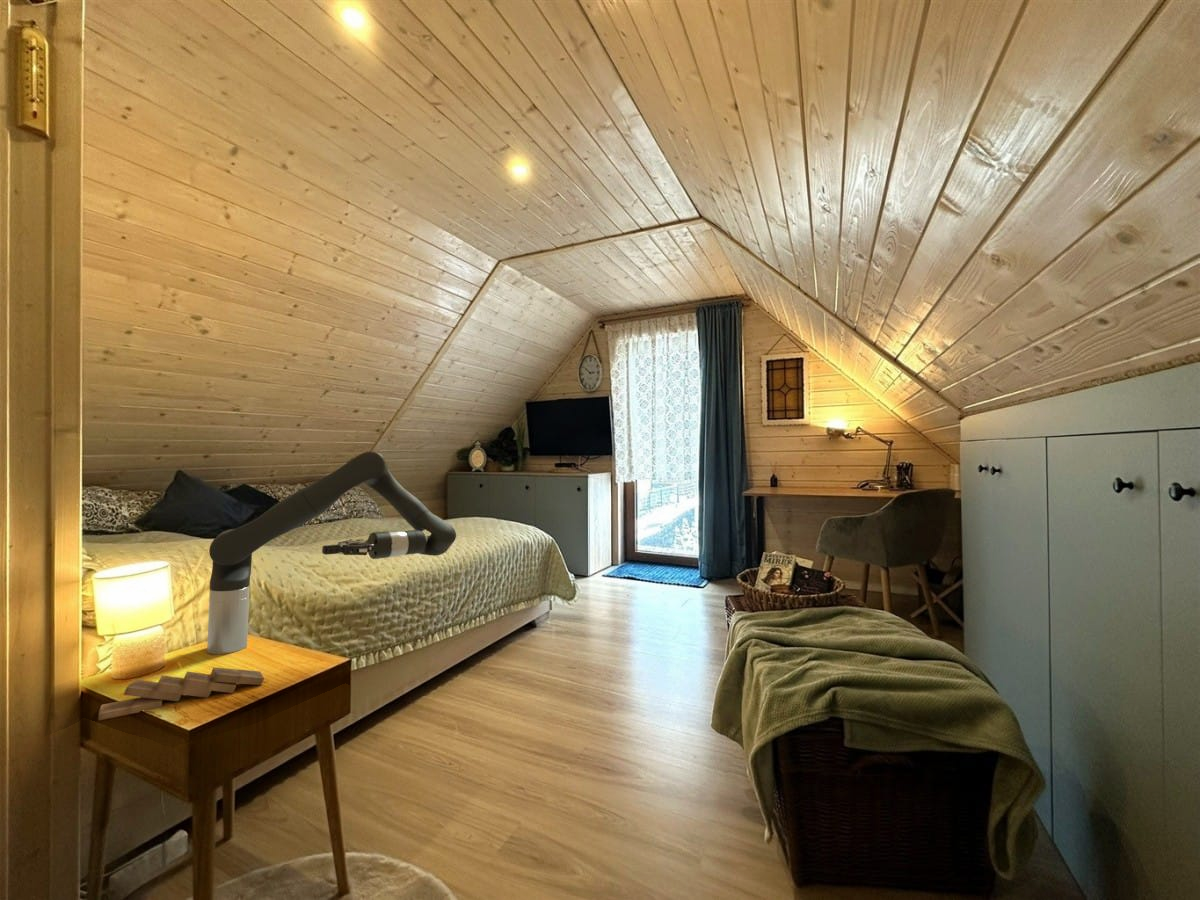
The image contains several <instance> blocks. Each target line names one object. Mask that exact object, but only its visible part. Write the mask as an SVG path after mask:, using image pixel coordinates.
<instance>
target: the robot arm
mask: <svg viewBox="0 0 1200 900" xmlns="http://www.w3.org/2000/svg"><path fill="white" fill-rule="evenodd" d="M361 484H365V485H366V486H368V487H369V488H371V489H372V490H374V491H375V492H376V493H377V494H379V495H380V496H381V497H382V498H384V499H385V500H386V501H387V502H388V503H389V505H391V506H392V508H394V509H395V511H397V513H398V514H399V515H400V516H401V517H402V518H403V519H404V520H405V521H406V523H408V525H409V526H411V528H413V530H385V531H375V532H374V531H373V532H370V533H369V536H368V538H367V539H364V538H357V539H347V540H343V541H339V542H337V544H327V545H326V544H325V545H322V549H321V550H322V551H321V552H322V554H323V555H324V556H325V555H335V554H336V555H337V554H339V555H345V556H367V555H368V556H369V557H370V559H372V560H376V559H378V560H379V559H387V558H397V557H401V556H407V555H416V554H420V555H424V556H431V557H432V556H433V557H434V556H440V555H444V554H445V553H446V552H447V551H448V550H449V549H450V547H452V545H453V543H455V541H456V538H457V533H456V530H455V529H454V527H453V526H452V525H451V523H450V522H448V521H445V520H444V519H442V518H441V517H439V516H438V515H435V514H433V513H432V512H431V511H430V510H429V509H428V508H427V507H426V505H424V504H423V502H422V501H420V500H419V499H418V498H417V497H416V496H414V495H413V494H411V492H410V491H408V490H407V489H405V487H404V486H402V485H401V484H400V483H399V482H398V481H397V480H396V479H395V477H394V476H393V474H392V473H391V471H390V470H389V469H388V465H387V462H386V459H385V458H384V456H383V455H382V453H380V452H378V451H373V450H370V451H363V452H361V453H360V454H358V455H356V456H355V457H354V458H352V459H351V460H350V461H349V460H348V462H346V463H345V464H344V465H342V466H340V467H339V468H337V469H336V470H334V471H333V472H331V473H329V474H327V475H325V476H323V477H322V478H320V479H318V480H316V481H314V482H312V483H310V484H309V485H307V486H305V487H302V488H301V489H299V490H296V492H294V493H291V494H290V495H288V496H286V497H285V498H283V499H282V500H279V501H278V502H277V503H276V504H274V505H273V506H272V507H270V508H269V509H268V510H266V511H265V512H264V513H262V514H261V515H260V516H258V517H256V518H255V519H253V520H251V521H250V522H246V523H245V524H243V525H241V526H239V527H237V528H231V529H227V530H224V531H222V532H220V533H219V534H217V536H216V537H214V539H213V540H212V542H211V543H210V546H209V550H208V551H209V552H208V553H209V558H210V559H211V560H212V570H211V575H210V580H209V595H208V596H209V598H208V599H209V600H208V603H209V604H208V621H207V623H208V624H207V625H208V626H207V640H206V641H207V644H206V647H207V648H206V652H207V653H208V654H211V655H225V654H231V653H236V652H240V651H242V650H244V649H246V648H247V646H248V635H249V633H248V632H249V611H250V610H249V609H250V584H251V583H250V581H251V575H252V562H253V561H252V559H253V553H254V552H256V551H257V550H259V549H260V548H261V547H263V546H265V545H266V544H268V543H269V542H271V541H273V540H274V539H276V538H277V537H280V536H283V535H284V534H287V533H290V532H291V531H293V530H295V529H298V527H301V526H303V525H304V524H307V523H308V522H310V521H311V520H313V519H315V518H317V517H318V516H321V514H324V513H325V512H326V511H327V510H328V509H329V508H331V507H332V506H333V505H334V504H335V503H336V502H337V501H338V500H339V499H340V498H341V497H342V496H343V495H345V494H346V493H347V492H349V491H350V490H352V489H354V488H355V487H357V486H360V485H361ZM425 530H426V531H427V532H429V533H430V535H425V533H424V531H425Z"/></svg>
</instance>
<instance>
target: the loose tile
mask: <svg viewBox="0 0 1200 900" xmlns="http://www.w3.org/2000/svg"><path fill="white" fill-rule="evenodd" d="M209 675H211V677H212V679H213V681H214V682H227V683H236V684H243V685H252V686H256V685H257V686H262V684H263V683H264V680H265V677H264V675H263V674H262V673H261V671H260V670H259V671H257V670H249V669H248V670H246V669H238V668H237V669H236V668H226V667H225V668H224V667H215V666H214V667H212V670H211V672H210V674H209Z"/></svg>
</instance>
